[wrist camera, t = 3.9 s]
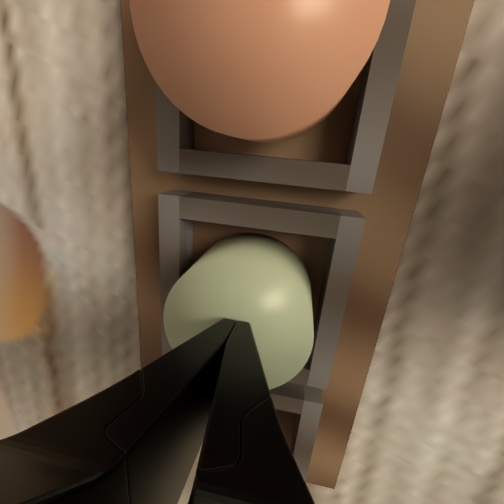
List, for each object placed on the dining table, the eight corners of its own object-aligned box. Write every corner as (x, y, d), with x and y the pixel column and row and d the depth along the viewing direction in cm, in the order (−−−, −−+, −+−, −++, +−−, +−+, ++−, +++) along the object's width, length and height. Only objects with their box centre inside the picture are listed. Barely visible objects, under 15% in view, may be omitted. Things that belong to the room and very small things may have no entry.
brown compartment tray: (331, 467, 17) (336, 521, 14) (155, 426, 18) (132, 468, 16) (471, -47, 9) (536, -126, 6) (137, -48, 10) (84, -112, 8)
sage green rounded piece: (301, 347, 12) (301, 405, 9) (195, 328, 13) (164, 376, 10) (320, 241, 11) (327, 273, 8) (197, 225, 11) (161, 249, 8)
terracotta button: (341, 150, 8) (360, 147, 6) (187, 136, 9) (135, 127, 6) (381, -63, 7) (434, -216, 4) (189, -62, 7) (120, -193, 5)
